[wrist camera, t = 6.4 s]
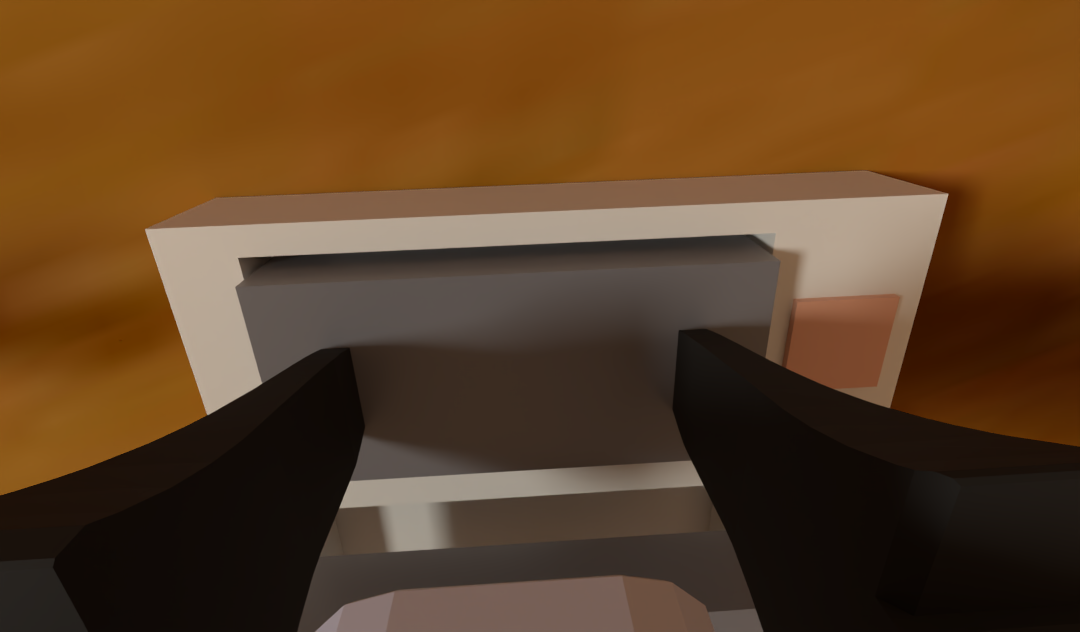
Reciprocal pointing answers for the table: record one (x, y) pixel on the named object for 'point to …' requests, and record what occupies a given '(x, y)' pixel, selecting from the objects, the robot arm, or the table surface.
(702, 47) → the table surface
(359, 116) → the table surface
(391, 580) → the button middle
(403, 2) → the table surface
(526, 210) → the switch unit
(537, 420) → the button
